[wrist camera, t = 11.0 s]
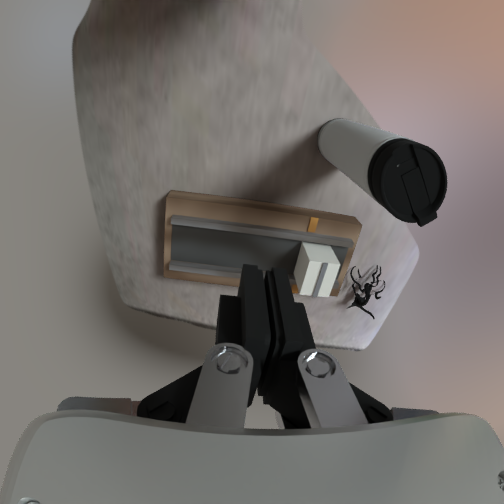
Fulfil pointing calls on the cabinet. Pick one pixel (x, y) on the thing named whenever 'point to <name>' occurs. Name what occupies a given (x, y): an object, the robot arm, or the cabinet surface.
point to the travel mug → (387, 168)
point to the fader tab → (316, 269)
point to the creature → (367, 288)
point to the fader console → (247, 237)
